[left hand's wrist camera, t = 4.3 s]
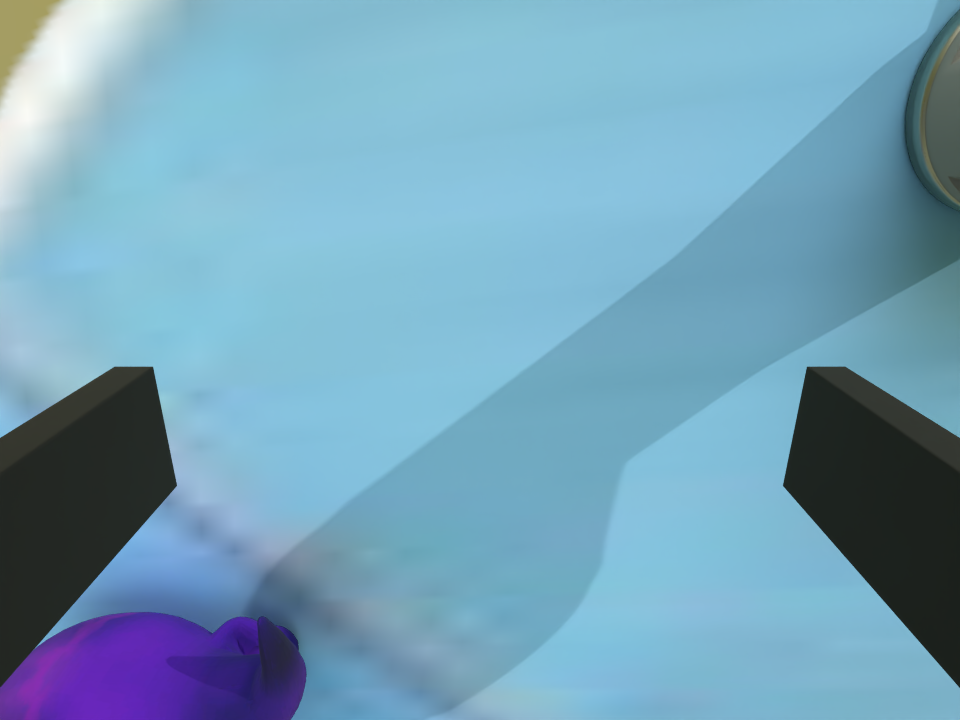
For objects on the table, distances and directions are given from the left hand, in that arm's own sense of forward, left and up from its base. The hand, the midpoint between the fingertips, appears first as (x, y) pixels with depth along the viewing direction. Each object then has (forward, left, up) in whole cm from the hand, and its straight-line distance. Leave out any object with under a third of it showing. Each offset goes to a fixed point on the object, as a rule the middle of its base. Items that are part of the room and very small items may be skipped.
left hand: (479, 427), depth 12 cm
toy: (+29, -32, -32) cm, 54 cm away
